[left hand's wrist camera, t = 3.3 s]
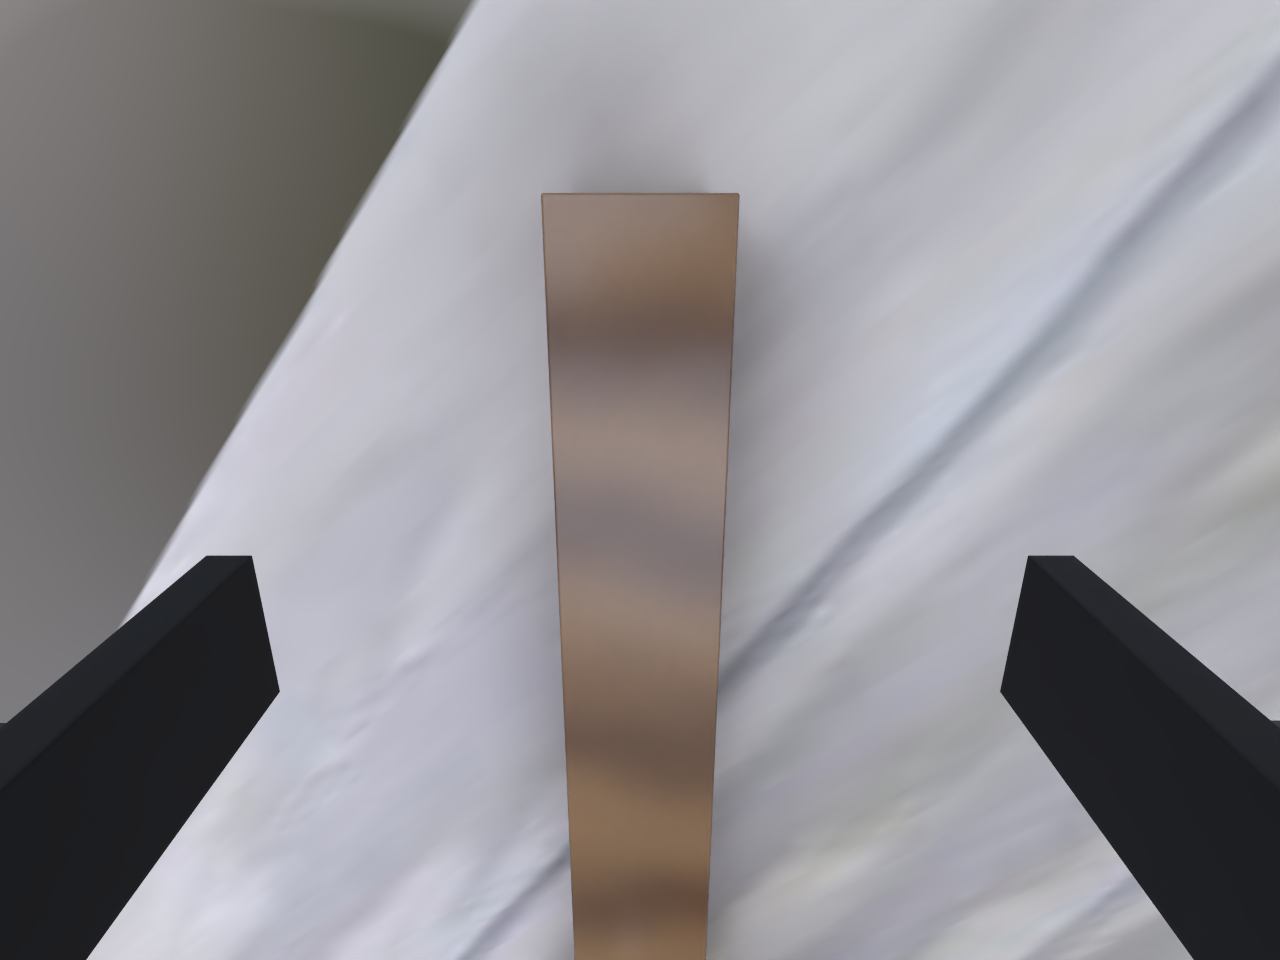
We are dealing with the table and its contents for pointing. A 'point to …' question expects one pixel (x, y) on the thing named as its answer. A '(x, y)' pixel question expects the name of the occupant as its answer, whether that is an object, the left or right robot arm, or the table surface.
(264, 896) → the table surface
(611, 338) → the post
